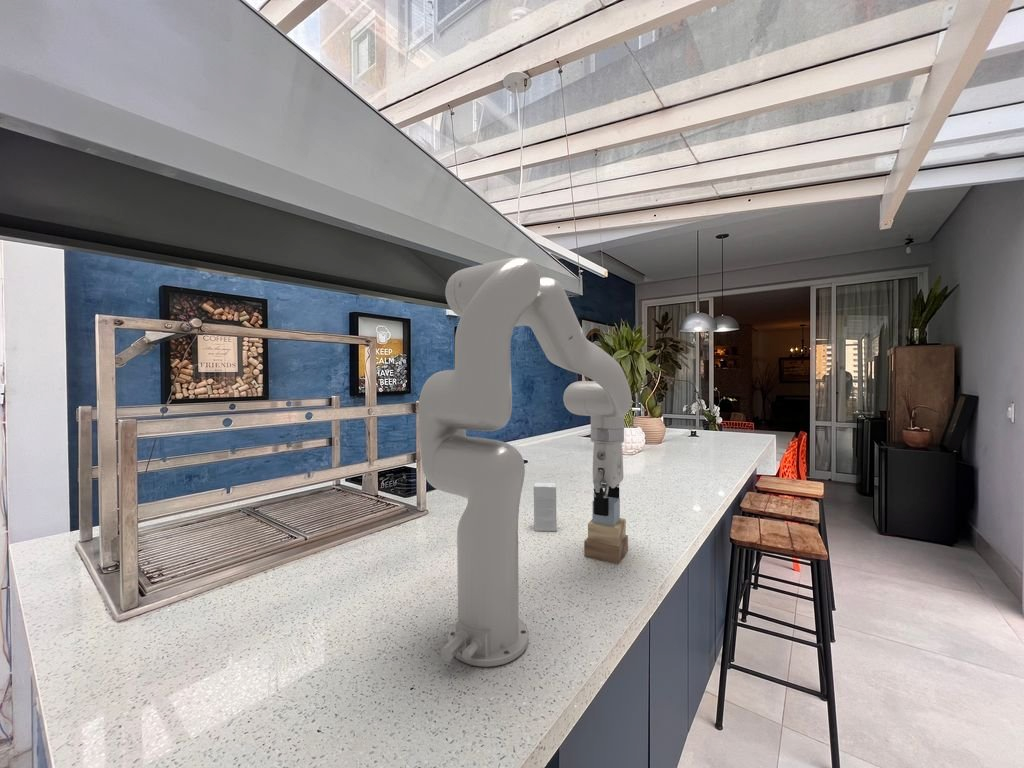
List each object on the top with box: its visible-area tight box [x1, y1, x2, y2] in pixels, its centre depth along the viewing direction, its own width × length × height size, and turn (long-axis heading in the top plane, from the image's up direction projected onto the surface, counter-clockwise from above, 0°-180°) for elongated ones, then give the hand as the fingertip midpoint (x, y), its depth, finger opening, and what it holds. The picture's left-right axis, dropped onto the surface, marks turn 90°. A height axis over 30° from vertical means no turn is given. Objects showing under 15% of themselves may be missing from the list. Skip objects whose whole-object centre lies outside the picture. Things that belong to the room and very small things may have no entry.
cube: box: [591, 497, 621, 527], centre depth 97 cm, size 5×5×5 cm
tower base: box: [583, 534, 629, 565], centre depth 98 cm, size 8×8×4 cm
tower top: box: [587, 517, 627, 547], centre depth 98 cm, size 7×7×4 cm
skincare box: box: [533, 482, 558, 532], centre depth 114 cm, size 6×4×12 cm
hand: (607, 508), depth 98 cm, fingers open, 9 cm apart
